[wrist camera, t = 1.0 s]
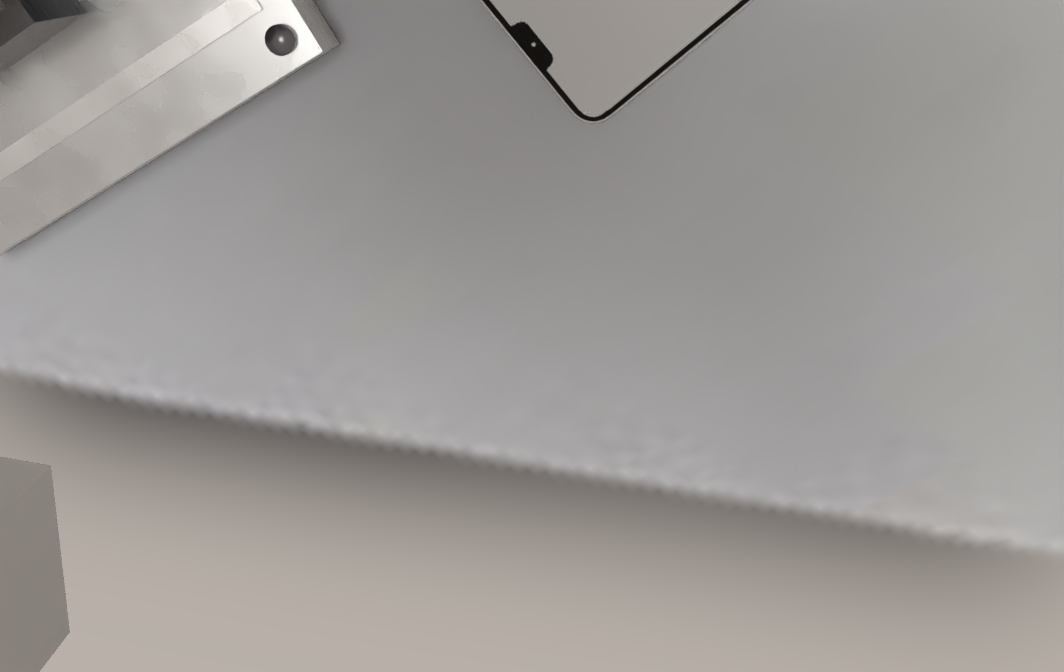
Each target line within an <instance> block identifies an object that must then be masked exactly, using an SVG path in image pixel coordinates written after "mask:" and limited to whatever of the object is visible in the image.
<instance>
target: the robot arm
mask: <svg viewBox="0 0 1064 672" xmlns="http://www.w3.org/2000/svg"><path fill="white" fill-rule="evenodd" d="M69 632H70V630H69V621H68V613H67V604H66V594H65V586H64V577H63V569H62V559H61V551H60V542H59V533H58V524H57V515H56V506H55V498H54V489H53V480H52V471H51V466H50V465H45V464H39V463H33V462H28V461H22V460H16V459H10V458H5V457H0V672H40V670H41V669H42V668H43V666H44V665H45V664H46V662H47V661H48V660H49V659H50V657H51V656H52V654H53V653H54V652H55V651H56V649H57V648H58V647H59V645H60V644H61V643H62V642H63V640H64V639H65V638H66V636H67V635H68V634H69Z"/></svg>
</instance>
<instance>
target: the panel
mask: <svg viewBox="0 0 1064 672" xmlns="http://www.w3.org/2000/svg"><path fill="white" fill-rule="evenodd" d="M339 44H340V43H339V42H338V40H337V38H336V37H335V35H334V34H333V32H332V30H331V29H330V27H329V25H328V24H327V22H326V20H325V19H324V17H323V16H322V14H321V12H320V11H319V9H318V7H317V6H316V4H315V2H314V1H313V0H0V255H2V254H4V253H5V252H7V251H9V250H10V249H12V248H13V247H15V246H17V245H18V244H20V243H21V242H23V241H25V240H26V239H28V238H29V237H31V236H33V235H34V234H36V233H38V232H39V231H41V230H42V229H44V228H46V227H47V226H49V225H50V224H52V223H54V222H55V221H57V220H58V219H60V218H62V217H63V216H65V215H66V214H68V213H70V212H71V211H73V210H74V209H76V208H78V207H79V206H81V205H82V204H84V203H86V202H87V201H89V200H90V199H92V198H94V197H95V196H97V195H98V194H100V193H102V192H103V191H105V190H107V189H108V188H110V187H111V186H113V185H115V184H116V183H118V182H119V181H121V180H123V179H124V178H126V177H127V176H129V175H131V174H132V173H134V172H135V171H137V170H139V169H140V168H142V167H143V166H145V165H147V164H148V163H150V162H151V161H153V160H155V159H156V158H158V157H159V156H161V155H163V154H164V153H166V152H167V151H169V150H171V149H172V148H174V147H176V146H177V145H179V144H180V143H182V142H184V141H185V140H187V139H188V138H190V137H192V136H193V135H195V134H196V133H198V132H200V131H201V130H203V129H204V128H206V127H208V126H209V125H211V124H212V123H214V122H216V121H217V120H219V119H220V118H222V117H224V116H225V115H227V114H228V113H230V112H232V111H233V110H235V109H237V108H238V107H240V106H241V105H243V104H245V103H246V102H248V101H249V100H251V99H253V98H254V97H256V96H257V95H259V94H261V93H262V92H264V91H265V90H267V89H269V88H270V87H272V86H273V85H275V84H277V83H278V82H280V81H281V80H283V79H285V78H286V77H288V76H289V75H291V74H293V73H294V72H296V71H297V70H299V69H301V68H302V67H304V66H306V65H307V64H309V63H310V62H312V61H314V60H315V59H317V58H318V57H320V56H322V55H323V54H325V53H326V52H328V51H330V50H331V49H333V48H334V47H336V46H338V45H339Z"/></svg>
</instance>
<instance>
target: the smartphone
mask: <svg viewBox="0 0 1064 672" xmlns="http://www.w3.org/2000/svg"><path fill="white" fill-rule="evenodd" d="M752 1H753V0H480V2H481V3H482V4H483V5H484V6H485V8H486V9H487V10H488V11H489V13H490V14H491V15H492V16H493V17H494V19H495V20H496V21H497V22H498V24H499V25H500V26H501V27H502V28H503V30H504V31H505V32H506V33H507V35H508V36H509V37H510V38H511V39H512V41H513V42H514V43H515V44H516V46H517V47H518V48H519V49H520V50H521V52H522V53H523V54H524V55H525V57H526V58H527V59H528V60H529V61H530V63H531V64H532V65H533V66H534V68H535V69H536V70H537V71H538V72H539V74H540V75H541V76H542V77H543V79H544V80H545V81H546V82H547V83H548V85H549V86H550V87H551V88H552V90H553V91H554V92H555V93H556V94H557V96H558V97H559V98H560V99H561V101H562V102H563V103H564V104H565V105H566V107H567V108H568V109H569V110H570V112H571V113H572V114H573V115H574V116H575V117H577V118H578V119H580V120H581V121H584V122H587V123H600V122H603V121H605V120H607V119H609V118H610V117H611V116H613V115H614V114H615V113H617V112H618V111H619V110H620V109H621V108H623V107H624V106H625V105H626V104H628V103H629V102H630V101H631V100H632V99H634V98H635V97H636V96H637V95H639V94H640V93H641V92H642V91H644V90H645V89H646V88H647V87H648V86H650V85H651V84H652V83H653V82H654V81H656V80H657V79H659V78H660V77H661V76H663V75H664V74H665V73H666V72H667V71H669V70H670V69H671V68H672V67H674V66H675V65H676V64H677V63H678V62H680V61H681V60H682V58H684V57H685V56H686V55H687V54H689V53H691V52H692V51H693V50H694V49H696V48H697V47H698V46H699V45H700V44H702V43H703V42H704V41H705V40H707V39H708V38H709V37H710V36H711V35H712V34H713V33H714V32H715V31H717V30H718V29H719V28H720V27H722V26H723V25H724V24H725V23H726V22H728V21H729V20H730V19H731V18H732V17H734V16H735V15H736V14H737V13H739V12H740V11H741V10H742V9H743V8H745V7H746V6H747V5H748V4H750V3H751V2H752Z"/></svg>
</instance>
